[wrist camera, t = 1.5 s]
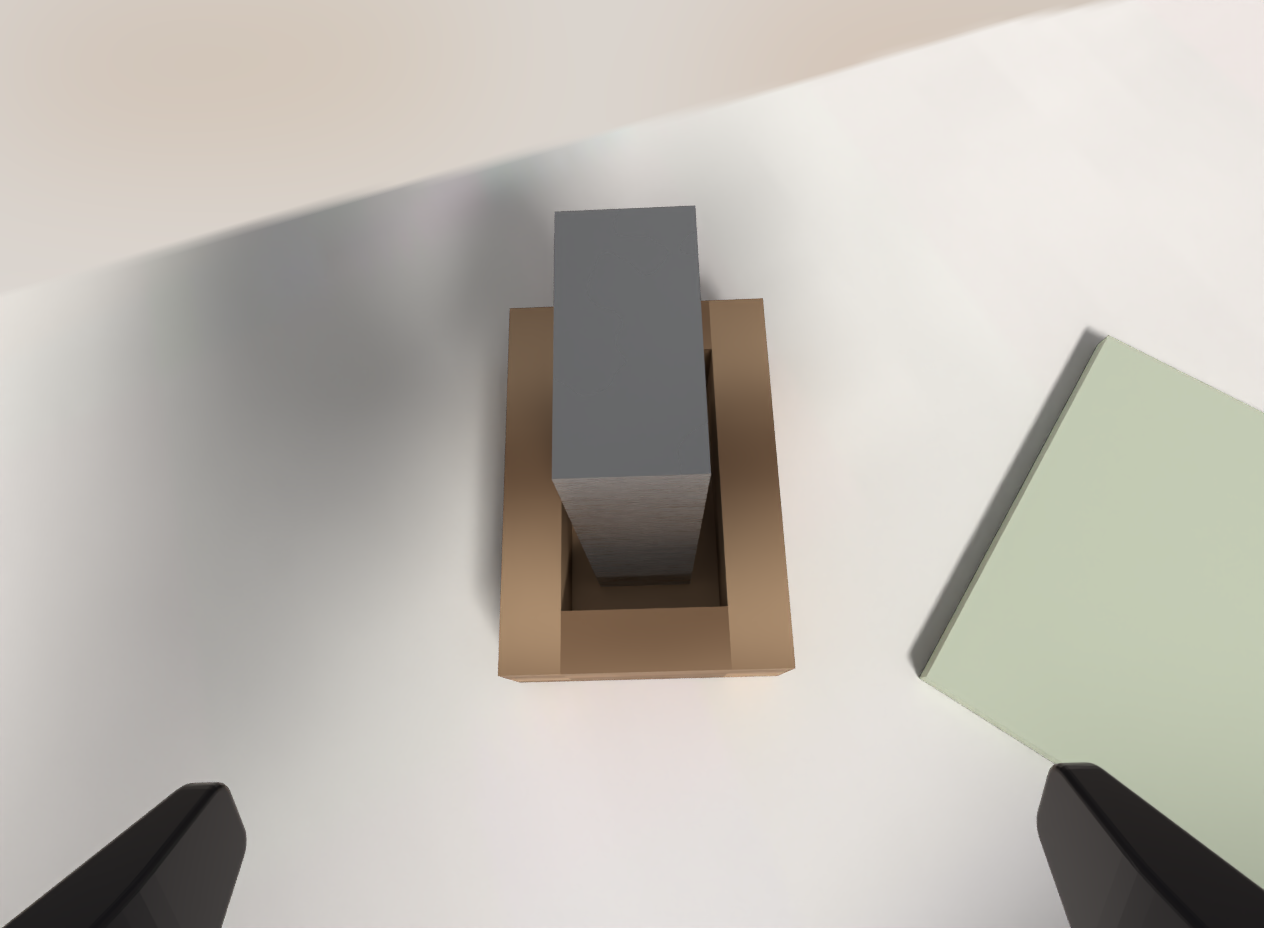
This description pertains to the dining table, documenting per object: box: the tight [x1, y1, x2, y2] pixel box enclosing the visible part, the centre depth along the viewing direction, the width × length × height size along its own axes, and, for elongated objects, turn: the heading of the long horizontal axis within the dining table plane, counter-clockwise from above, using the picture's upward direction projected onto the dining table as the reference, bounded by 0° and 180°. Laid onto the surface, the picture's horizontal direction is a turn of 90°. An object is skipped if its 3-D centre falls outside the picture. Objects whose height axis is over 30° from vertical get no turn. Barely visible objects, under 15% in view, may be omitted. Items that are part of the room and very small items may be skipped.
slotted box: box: [498, 298, 795, 682], centre depth 21 cm, size 10×7×3 cm
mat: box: [920, 335, 1264, 889], centre depth 21 cm, size 12×12×1 cm
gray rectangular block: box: [552, 206, 711, 587], centre depth 18 cm, size 5×2×10 cm, turn 1°
